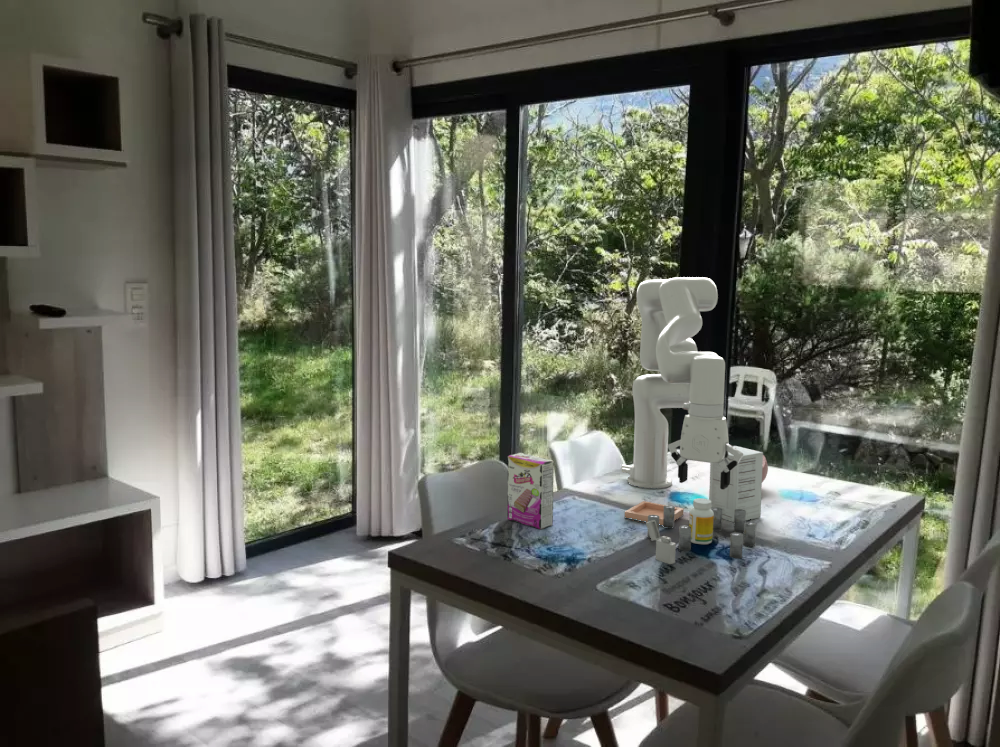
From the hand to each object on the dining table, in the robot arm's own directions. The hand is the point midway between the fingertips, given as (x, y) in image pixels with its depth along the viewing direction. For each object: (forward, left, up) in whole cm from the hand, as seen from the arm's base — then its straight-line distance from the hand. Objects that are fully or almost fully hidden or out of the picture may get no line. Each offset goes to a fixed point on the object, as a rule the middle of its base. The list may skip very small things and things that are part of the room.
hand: (703, 484), depth 187 cm
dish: (-16, +10, -13) cm, 23 cm away
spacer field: (0, +3, -13) cm, 14 cm away
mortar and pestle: (-6, +49, -14) cm, 52 cm away
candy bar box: (-39, -12, -14) cm, 43 cm away
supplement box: (0, +23, -14) cm, 27 cm away
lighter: (-3, -16, -14) cm, 21 cm away
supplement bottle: (0, 0, -14) cm, 14 cm away
